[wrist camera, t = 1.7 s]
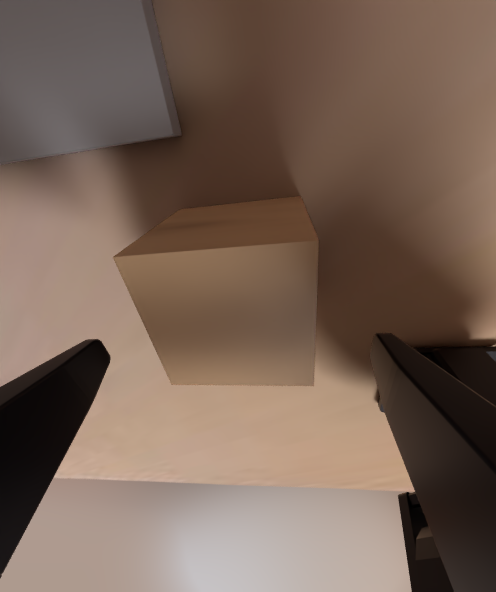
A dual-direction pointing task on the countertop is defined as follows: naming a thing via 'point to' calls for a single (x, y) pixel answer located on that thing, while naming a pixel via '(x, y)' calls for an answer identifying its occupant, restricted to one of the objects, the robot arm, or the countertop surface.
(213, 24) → the countertop surface
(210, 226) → the cube
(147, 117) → the mat
